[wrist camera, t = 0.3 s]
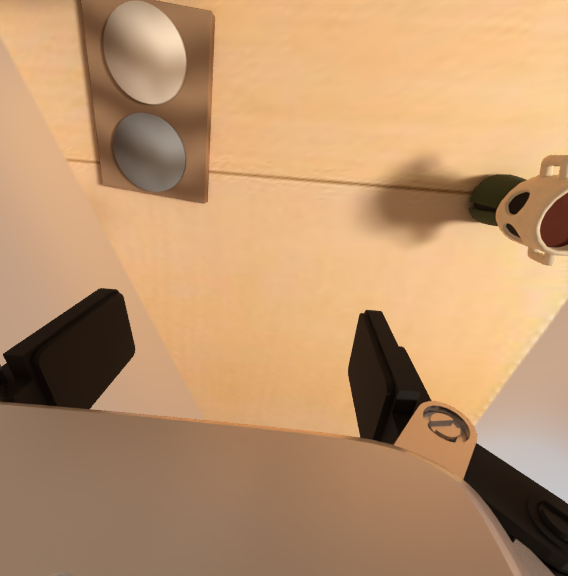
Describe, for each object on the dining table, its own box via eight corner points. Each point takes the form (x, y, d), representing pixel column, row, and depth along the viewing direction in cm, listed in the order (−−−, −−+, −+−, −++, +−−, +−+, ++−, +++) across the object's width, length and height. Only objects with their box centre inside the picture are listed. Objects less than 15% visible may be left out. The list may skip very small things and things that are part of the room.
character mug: (465, 161, 35) (544, 165, 24) (527, 147, 34) (642, 145, 23) (461, 243, 40) (526, 280, 28) (515, 233, 39) (607, 267, 27)
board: (88, -7, 30) (73, -19, 28) (215, 17, 31) (208, 7, 29) (109, 184, 39) (98, 185, 37) (207, 201, 40) (202, 204, 37)
